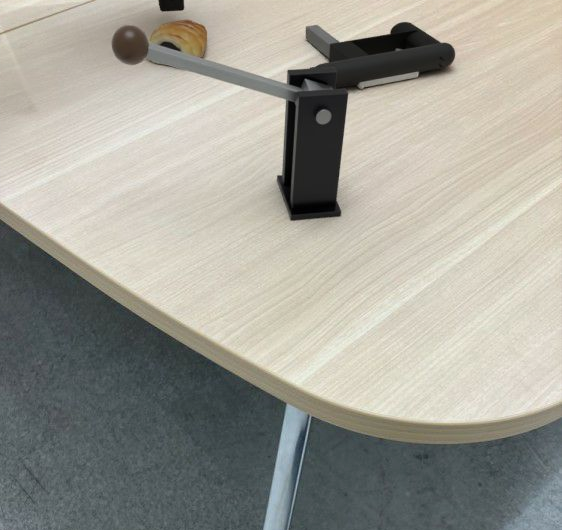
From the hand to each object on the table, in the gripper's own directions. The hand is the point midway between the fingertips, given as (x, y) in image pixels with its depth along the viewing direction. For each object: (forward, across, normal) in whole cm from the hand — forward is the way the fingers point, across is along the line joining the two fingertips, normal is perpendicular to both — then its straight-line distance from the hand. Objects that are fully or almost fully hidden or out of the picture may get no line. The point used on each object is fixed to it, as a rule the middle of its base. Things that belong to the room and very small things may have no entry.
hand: (171, 8), depth 104 cm
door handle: (+3, +13, +23) cm, 26 cm away
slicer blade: (-10, +42, 0) cm, 44 cm away
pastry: (+2, +8, 0) cm, 9 cm away
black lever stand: (+2, +42, +9) cm, 43 cm away
